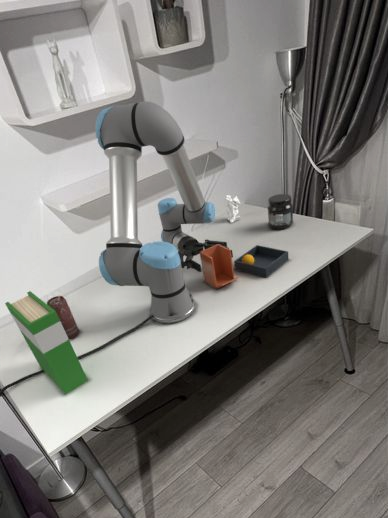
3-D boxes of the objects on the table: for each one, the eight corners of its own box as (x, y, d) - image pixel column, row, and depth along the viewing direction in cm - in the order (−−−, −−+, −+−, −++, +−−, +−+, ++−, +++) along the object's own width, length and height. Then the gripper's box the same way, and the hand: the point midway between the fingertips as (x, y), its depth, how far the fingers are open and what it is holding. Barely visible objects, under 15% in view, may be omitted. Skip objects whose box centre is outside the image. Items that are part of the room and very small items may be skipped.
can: (82, 328, 138) (67, 293, 129) (76, 340, 133) (60, 304, 124) (66, 330, 139) (50, 295, 130) (59, 341, 134) (42, 306, 126)
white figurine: (233, 224, 185) (229, 198, 178) (222, 222, 190) (218, 196, 182) (244, 217, 190) (242, 191, 182) (233, 215, 194) (230, 190, 186)
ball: (246, 259, 145) (255, 267, 148) (249, 250, 147) (258, 257, 150) (237, 264, 149) (246, 271, 151) (241, 254, 151) (249, 261, 153)
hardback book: (41, 368, 124) (4, 303, 109) (62, 356, 127) (30, 291, 112) (65, 394, 112) (28, 325, 98) (88, 380, 115) (55, 311, 101)
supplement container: (284, 218, 180) (283, 191, 173) (298, 225, 172) (297, 197, 165) (264, 225, 178) (262, 198, 171) (277, 232, 170) (275, 204, 163)
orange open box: (204, 281, 148) (199, 251, 141) (222, 273, 151) (218, 243, 143) (222, 293, 140) (217, 261, 132) (241, 284, 142) (237, 253, 135)
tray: (266, 277, 143) (265, 268, 140) (235, 269, 151) (234, 261, 149) (288, 260, 150) (288, 251, 148) (257, 253, 158) (256, 245, 156)
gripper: (213, 242, 163) (245, 257, 148) (160, 265, 155) (188, 284, 140) (211, 224, 159) (243, 238, 143) (156, 247, 151) (184, 265, 135)
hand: (216, 261), depth 142 cm, fingers open, 13 cm apart
